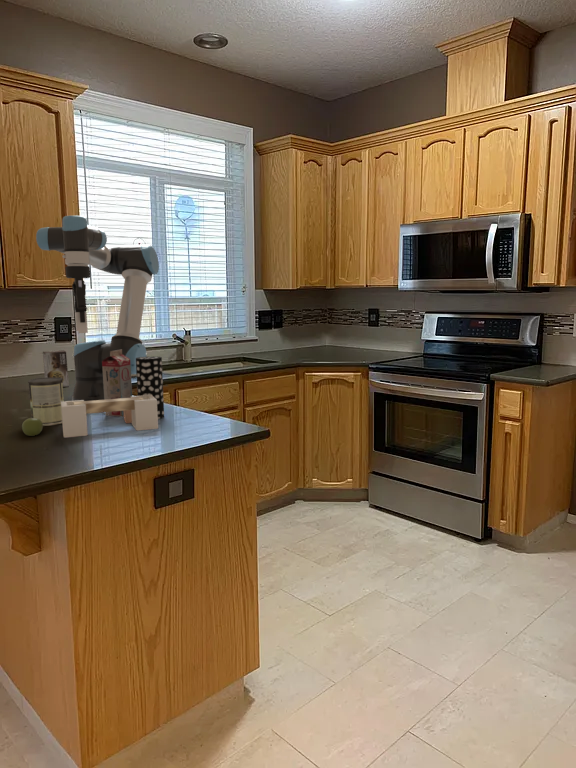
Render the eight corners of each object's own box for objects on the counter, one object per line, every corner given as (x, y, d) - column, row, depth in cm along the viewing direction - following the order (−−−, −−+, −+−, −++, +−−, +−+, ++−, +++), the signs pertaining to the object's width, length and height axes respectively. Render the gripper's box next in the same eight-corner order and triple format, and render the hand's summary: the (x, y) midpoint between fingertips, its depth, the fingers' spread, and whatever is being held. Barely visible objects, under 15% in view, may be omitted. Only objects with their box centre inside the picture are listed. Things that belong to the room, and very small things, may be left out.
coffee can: (25, 423, 189) (21, 380, 187) (55, 417, 197) (52, 376, 194) (41, 427, 182) (38, 382, 180) (72, 421, 190) (69, 378, 188)
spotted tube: (134, 417, 196) (130, 358, 193) (155, 413, 201) (152, 355, 198) (147, 421, 190) (144, 359, 187) (169, 417, 196) (166, 357, 192)
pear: (19, 419, 168) (24, 418, 178) (21, 437, 168) (25, 435, 178) (40, 417, 170) (44, 416, 180) (42, 435, 170) (45, 433, 180)
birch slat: (74, 414, 171) (74, 404, 171) (74, 411, 176) (73, 402, 175) (144, 408, 179) (143, 399, 179) (141, 406, 183) (141, 396, 183)
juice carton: (133, 412, 204) (129, 349, 201) (122, 416, 198) (118, 351, 194) (116, 411, 206) (113, 349, 203) (105, 415, 200) (101, 351, 196)
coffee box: (66, 384, 270) (63, 349, 267) (69, 386, 264) (66, 351, 262) (45, 386, 265) (42, 351, 262) (47, 388, 260) (45, 352, 257)
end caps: (63, 437, 169) (61, 407, 167) (62, 430, 177) (60, 401, 176) (158, 428, 179) (156, 399, 178) (152, 422, 188) (151, 394, 186)
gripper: (63, 267, 198) (68, 330, 201) (66, 263, 175) (71, 334, 179) (87, 267, 201) (91, 329, 204) (92, 263, 178) (97, 333, 182)
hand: (81, 331), depth 191 cm, fingers open, 13 cm apart
